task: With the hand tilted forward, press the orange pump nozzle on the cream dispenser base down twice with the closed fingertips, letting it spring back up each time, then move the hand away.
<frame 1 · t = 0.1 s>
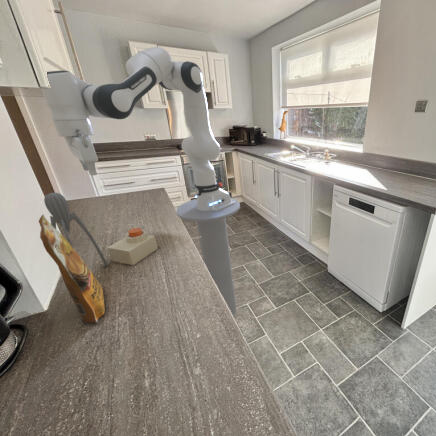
hand: (90, 172, 82), 33 cm above the worktop, tool pointing down, fingers open, 8 cm apart
dispenser: (135, 254, 95), on the worktop
citrus juicer: (88, 278, 82), on the worktop
nozzle: (135, 232, 93), point 9 cm above the worktop, slide at 0.1 cm
pancake mix bag: (92, 307, 70), on the worktop
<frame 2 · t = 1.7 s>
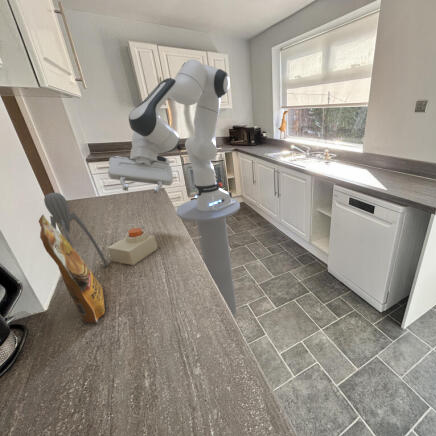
hand: (141, 191, 86), 26 cm above the worktop, tool tilted 50°, fingers open, 8 cm apart
nothing on the worktop moved.
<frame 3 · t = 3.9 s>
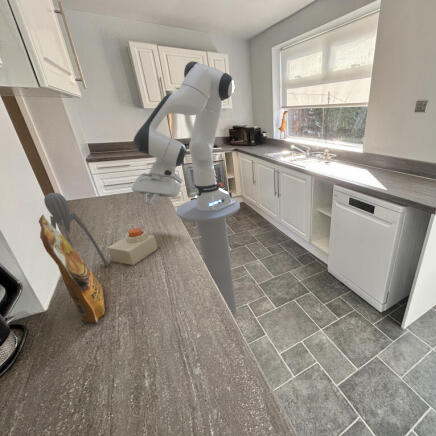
hand: (149, 204, 97), 17 cm above the worktop, tool tilted 45°, fingers closed
nothing on the worktop moved.
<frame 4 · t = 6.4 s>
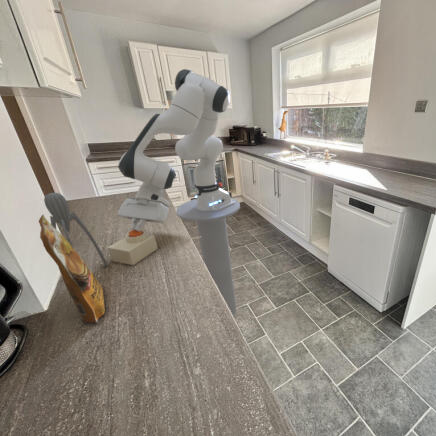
hand: (135, 230, 93), 10 cm above the worktop, tool tilted 45°, fingers closed, pressing on nozzle
nozzle: (135, 234, 93), point 8 cm above the worktop, slide at -0.6 cm, touching gripper
everything else where it was.
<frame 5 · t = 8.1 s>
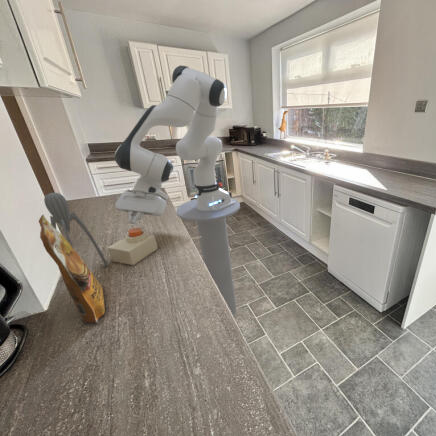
hand: (132, 223, 92), 13 cm above the worktop, tool tilted 45°, fingers closed
nozzle: (135, 232, 93), point 9 cm above the worktop, slide at 0.1 cm
everything else where it was.
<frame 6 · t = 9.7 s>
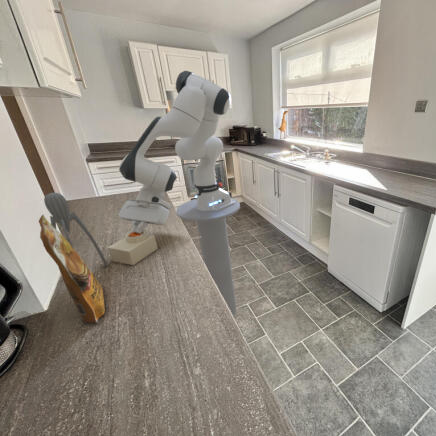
hand: (135, 232, 93), 9 cm above the worktop, tool tilted 45°, fingers closed, pressing on nozzle
nozzle: (136, 236, 94), point 7 cm above the worktop, slide at -1.5 cm, touching dispenser, gripper
everything else where it was.
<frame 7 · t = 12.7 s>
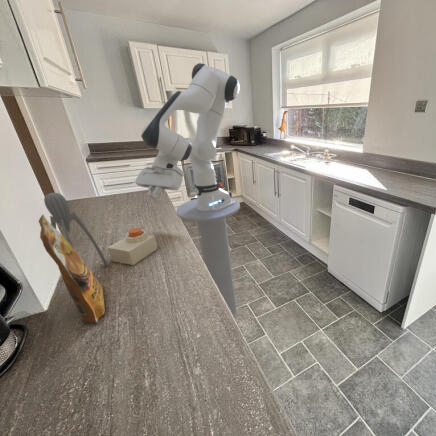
hand: (151, 197, 99), 19 cm above the worktop, tool tilted 45°, fingers closed
nozzle: (135, 232, 93), point 9 cm above the worktop, slide at 0.1 cm
everything else where it was.
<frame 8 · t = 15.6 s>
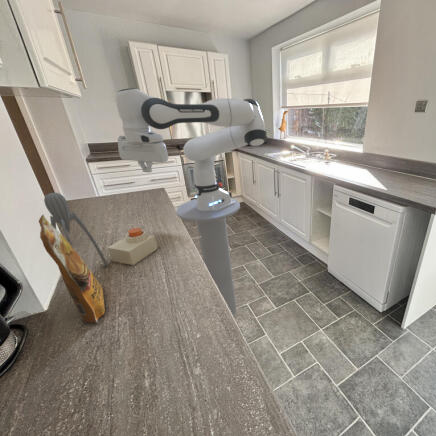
hand: (147, 172, 97), 29 cm above the worktop, tool pointing down, fingers closed
nothing on the worktop moved.
at the end: nozzle pushed in 1.5 cm at the most during the clip, back to where it started at the end; nozzle slide at 0.1 cm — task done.
